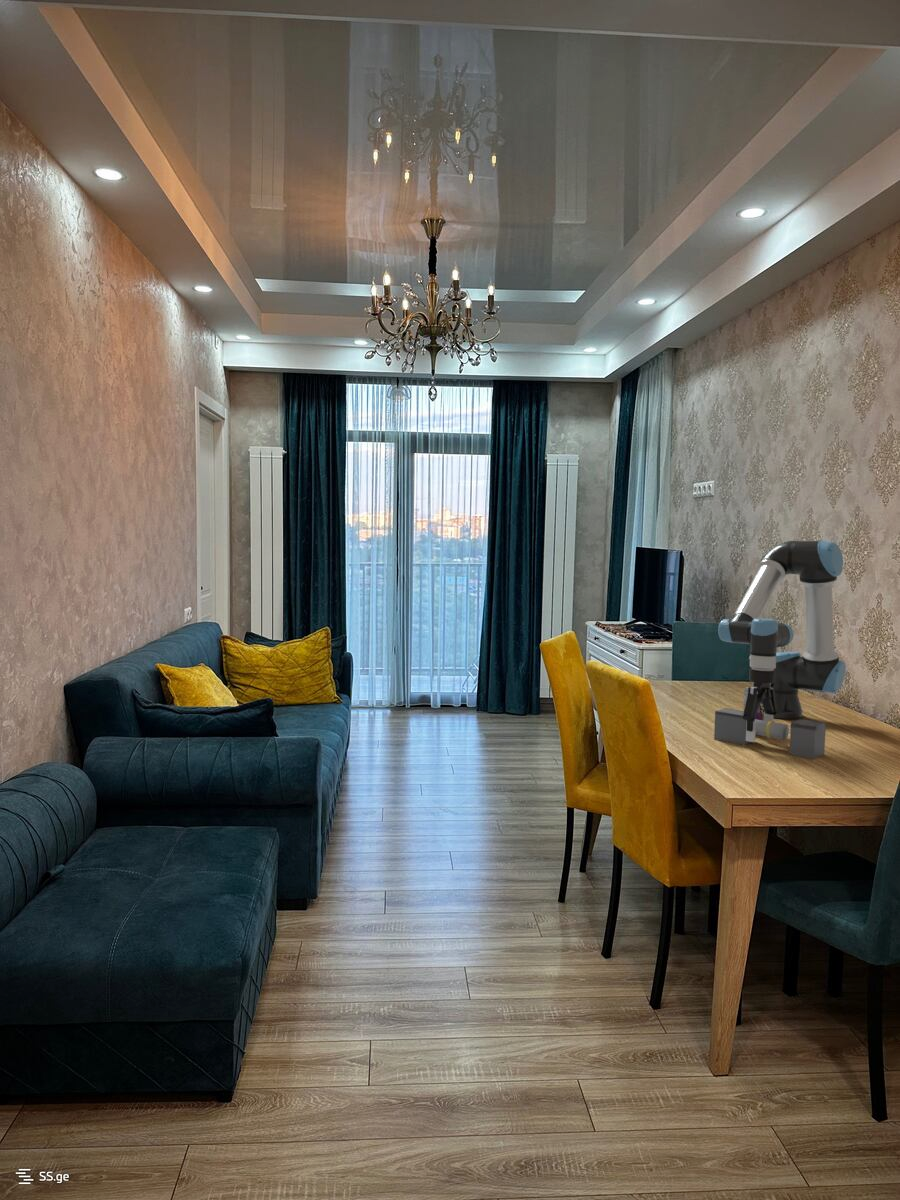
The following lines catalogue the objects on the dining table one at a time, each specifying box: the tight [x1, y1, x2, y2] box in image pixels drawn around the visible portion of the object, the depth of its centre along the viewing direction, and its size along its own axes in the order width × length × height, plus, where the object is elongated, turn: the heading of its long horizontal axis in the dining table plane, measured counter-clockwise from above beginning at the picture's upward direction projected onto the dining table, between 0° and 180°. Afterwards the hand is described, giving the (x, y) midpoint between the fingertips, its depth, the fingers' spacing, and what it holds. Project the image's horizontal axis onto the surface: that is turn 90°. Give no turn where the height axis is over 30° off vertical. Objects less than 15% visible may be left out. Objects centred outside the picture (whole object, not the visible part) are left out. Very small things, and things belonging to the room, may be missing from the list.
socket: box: [788, 718, 827, 760], centre depth 235 cm, size 7×8×10 cm
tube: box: [755, 719, 790, 741], centre depth 247 cm, size 20×5×5 cm, turn 45°
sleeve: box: [713, 707, 752, 746], centre depth 251 cm, size 10×7×9 cm
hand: (759, 738), depth 245 cm, fingers open, 12 cm apart
